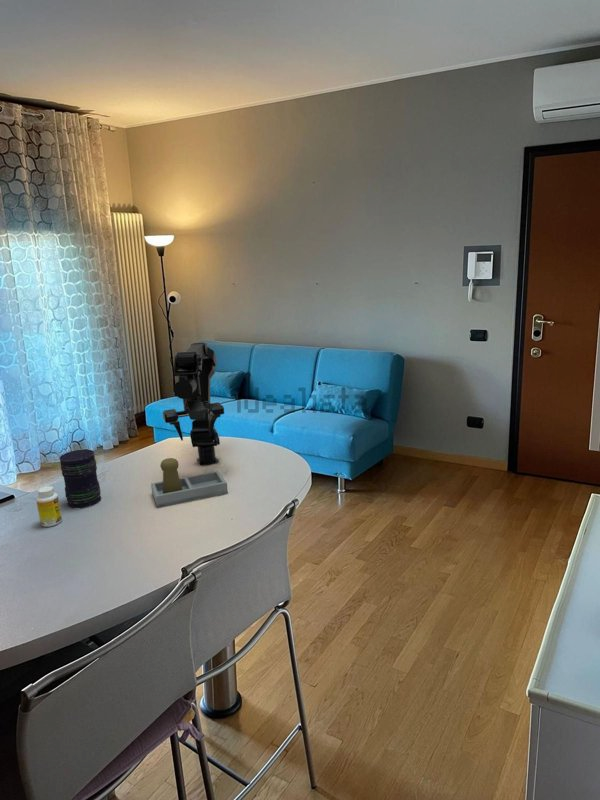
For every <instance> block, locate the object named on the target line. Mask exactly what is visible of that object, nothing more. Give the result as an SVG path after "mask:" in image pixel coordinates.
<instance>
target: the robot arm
mask: <svg viewBox="0 0 600 800" xmlns="http://www.w3.org/2000/svg"><path fill="white" fill-rule="evenodd" d="M173 359H174V360H173V377H178V380H177V382H176V383H175V384H174V385H173V393H174V395H175V396H176V397H177V398H178V399H182V403H183V410H180V411H177V410H176V408H172V409H171V408H170V409H164V410H163V412H162V419H163V421H164V422H165V424H168V423H169V425H171V426H174V428H175V430H176V432H177V434H178V436H179V439H180V440H181V442H182V441H184V438H183V437H184V436H183V432H182V428H181V423H180V420H179V418H183V417H189V420H192V422H191V430H190V432H189V433H190V434H189V435H190V441H191V445H192V446H191V447H192V448H197V454H198V458H196V462H197V463H198V464H199V466H205V465H211V464H217V463H219V459H218V458H217V457H216V448H215V447H217V446H219V445H220V444H221V442H220V436H219V433H218V431H217V429H216V426H215V423H216V421H217V419H218V418H220V417H221V415H224V414H225V408H224V405H222V404H221V403H220V402H219V401H218V402H212V403H211V379H212V377H213V376H214V374H215V373H216V367H217V363H218V360H217V356H216V353H215V351H214V350H213V349H211V348H210V347H209V346H208V343H206V342H193V343H191V345H190V347H189V348H188V349H186V351H177V352H176V355H175V356H174V358H173Z"/></svg>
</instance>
